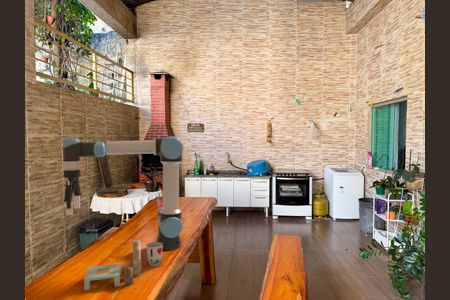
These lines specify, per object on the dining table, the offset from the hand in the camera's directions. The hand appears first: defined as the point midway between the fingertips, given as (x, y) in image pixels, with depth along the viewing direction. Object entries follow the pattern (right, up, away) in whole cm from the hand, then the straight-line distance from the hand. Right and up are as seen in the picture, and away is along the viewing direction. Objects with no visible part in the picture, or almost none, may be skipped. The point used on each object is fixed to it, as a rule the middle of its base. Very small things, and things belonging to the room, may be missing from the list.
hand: (73, 211), depth 154 cm
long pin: (+35, -28, -10) cm, 46 cm away
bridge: (+22, -28, -16) cm, 39 cm away
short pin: (+34, -28, -18) cm, 48 cm away
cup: (+40, -27, +2) cm, 49 cm away
